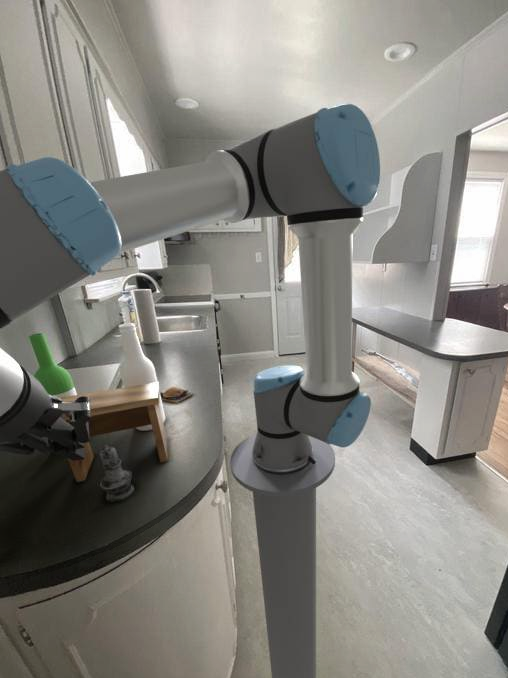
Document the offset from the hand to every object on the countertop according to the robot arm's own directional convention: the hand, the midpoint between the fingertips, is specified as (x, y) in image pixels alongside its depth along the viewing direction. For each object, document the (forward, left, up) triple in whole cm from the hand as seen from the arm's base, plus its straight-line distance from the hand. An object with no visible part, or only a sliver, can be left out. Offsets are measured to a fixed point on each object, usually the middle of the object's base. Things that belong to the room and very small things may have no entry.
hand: (79, 451), depth 46 cm
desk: (+12, -22, -19) cm, 31 cm away
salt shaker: (+6, -11, -19) cm, 23 cm away
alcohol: (+16, -39, -19) cm, 46 cm away
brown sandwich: (+18, -58, -19) cm, 64 cm away
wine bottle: (+32, -28, -19) cm, 47 cm away
